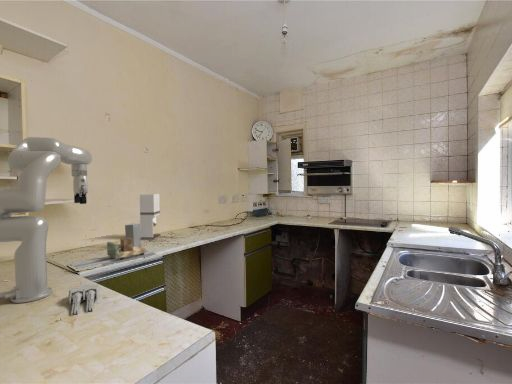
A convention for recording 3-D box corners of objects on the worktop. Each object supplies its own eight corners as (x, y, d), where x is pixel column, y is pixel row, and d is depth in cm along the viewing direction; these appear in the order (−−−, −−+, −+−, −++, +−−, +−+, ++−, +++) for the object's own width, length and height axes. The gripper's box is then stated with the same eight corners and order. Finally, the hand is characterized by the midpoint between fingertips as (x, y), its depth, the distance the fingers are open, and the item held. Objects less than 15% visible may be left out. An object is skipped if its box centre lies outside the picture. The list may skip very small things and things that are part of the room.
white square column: (154, 240, 203) (153, 194, 202) (140, 240, 203) (139, 194, 202) (160, 236, 215) (159, 193, 213) (147, 236, 215) (146, 193, 213)
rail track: (76, 272, 131) (76, 269, 131) (67, 265, 142) (66, 263, 142) (156, 254, 163) (156, 252, 163) (143, 250, 174) (143, 248, 174)
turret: (64, 324, 88) (63, 311, 87) (70, 293, 105) (70, 282, 104) (99, 316, 93) (98, 304, 92) (99, 288, 110) (99, 277, 109)
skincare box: (134, 248, 178) (133, 225, 177) (124, 248, 179) (124, 224, 179) (141, 245, 186) (141, 223, 185) (132, 245, 187) (132, 222, 187)
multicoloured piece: (116, 261, 147) (115, 245, 147) (107, 257, 155) (107, 242, 155) (146, 254, 161) (146, 239, 160) (137, 251, 168) (136, 237, 168)
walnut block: (124, 251, 154) (123, 240, 154) (120, 250, 157) (120, 238, 157) (132, 250, 158) (132, 238, 157) (129, 248, 161) (128, 237, 161)
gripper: (92, 173, 151) (93, 203, 152) (81, 174, 162) (82, 202, 163) (76, 173, 145) (77, 204, 146) (67, 174, 156) (68, 203, 157)
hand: (80, 203), depth 154 cm, fingers open, 9 cm apart
